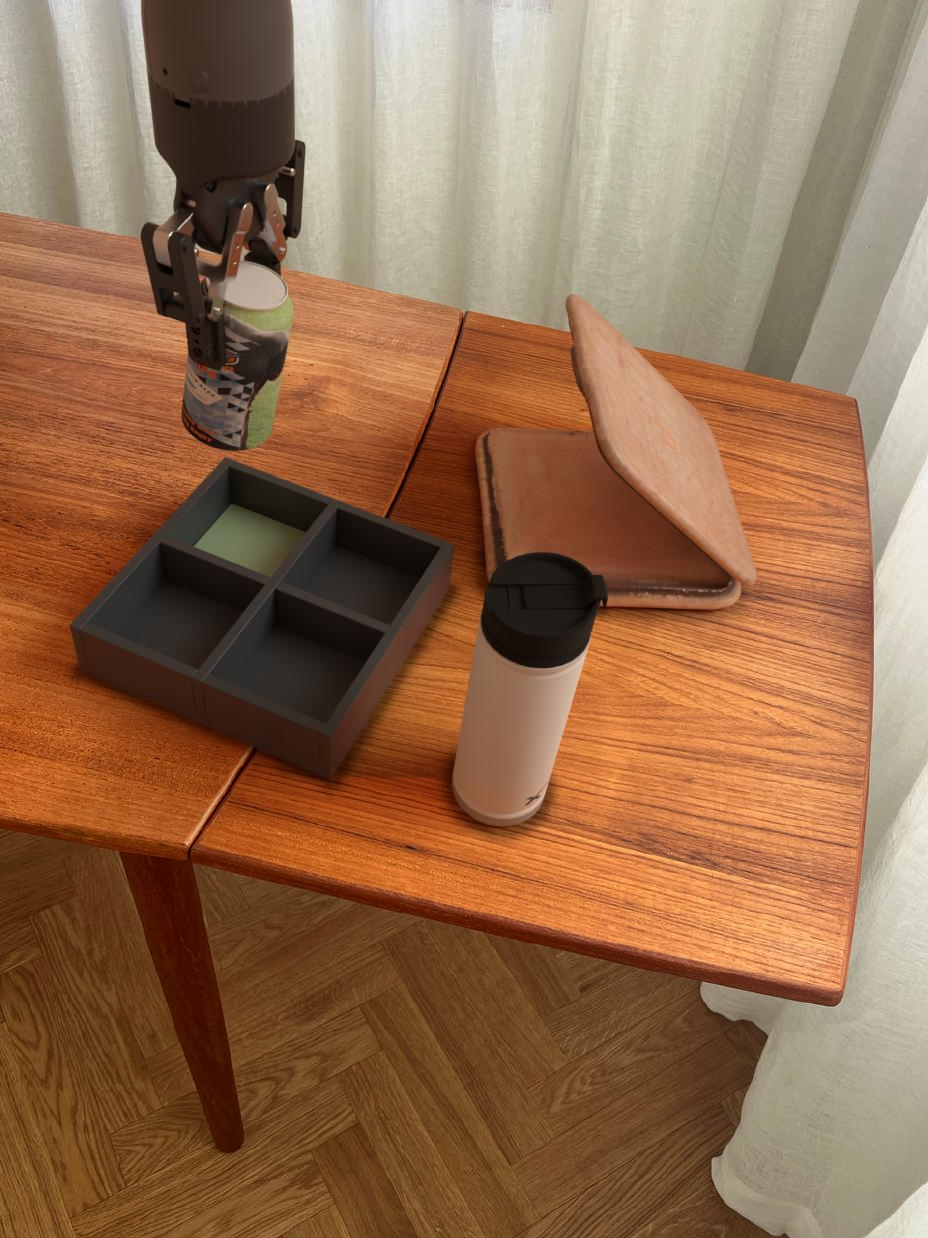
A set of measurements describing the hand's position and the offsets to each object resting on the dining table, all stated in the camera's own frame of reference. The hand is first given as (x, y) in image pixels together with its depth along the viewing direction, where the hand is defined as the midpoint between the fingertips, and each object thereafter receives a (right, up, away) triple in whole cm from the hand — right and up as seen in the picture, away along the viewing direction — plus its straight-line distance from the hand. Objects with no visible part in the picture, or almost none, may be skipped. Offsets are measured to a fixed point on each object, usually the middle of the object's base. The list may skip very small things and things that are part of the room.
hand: (237, 335), depth 70 cm
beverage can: (-1, -5, +6) cm, 8 cm away
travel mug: (+17, -29, +4) cm, 34 cm away
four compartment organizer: (0, -19, +11) cm, 22 cm away
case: (+26, -10, +22) cm, 36 cm away
